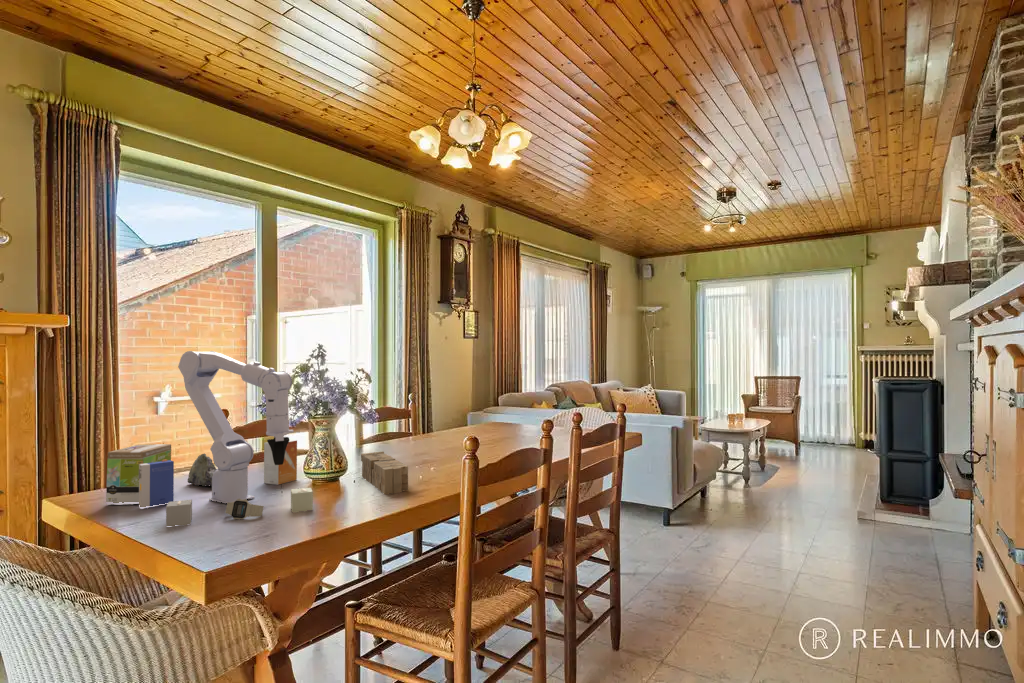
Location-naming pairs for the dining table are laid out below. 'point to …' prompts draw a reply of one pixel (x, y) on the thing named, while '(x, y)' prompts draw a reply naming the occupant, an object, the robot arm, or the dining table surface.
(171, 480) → the blue carton
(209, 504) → the dining table surface
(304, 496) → the block marked 7
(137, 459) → the tea box
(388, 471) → the block tower
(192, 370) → the robot arm
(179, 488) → the dining table surface
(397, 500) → the dining table surface
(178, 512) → the block marked 1
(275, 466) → the small box
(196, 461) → the mineral rock
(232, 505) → the wristwatch
